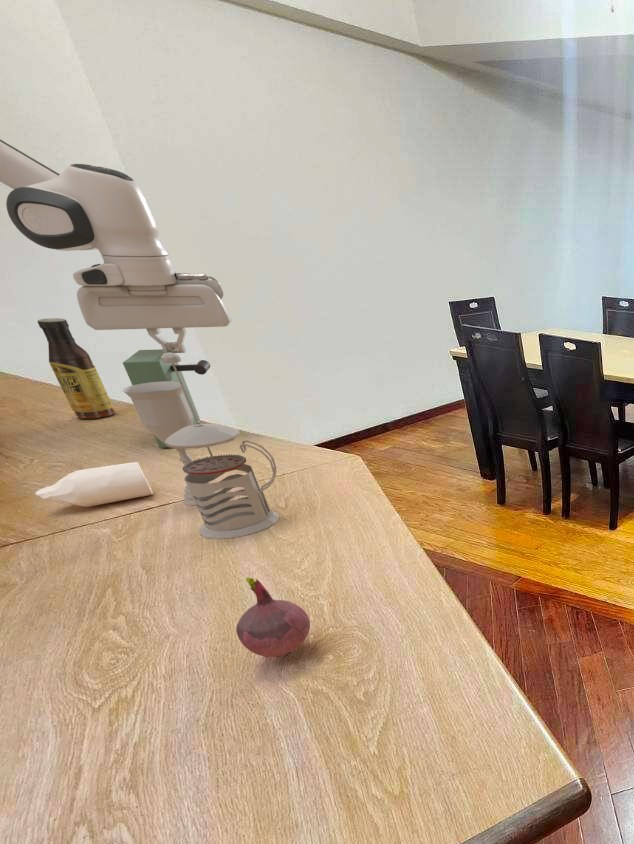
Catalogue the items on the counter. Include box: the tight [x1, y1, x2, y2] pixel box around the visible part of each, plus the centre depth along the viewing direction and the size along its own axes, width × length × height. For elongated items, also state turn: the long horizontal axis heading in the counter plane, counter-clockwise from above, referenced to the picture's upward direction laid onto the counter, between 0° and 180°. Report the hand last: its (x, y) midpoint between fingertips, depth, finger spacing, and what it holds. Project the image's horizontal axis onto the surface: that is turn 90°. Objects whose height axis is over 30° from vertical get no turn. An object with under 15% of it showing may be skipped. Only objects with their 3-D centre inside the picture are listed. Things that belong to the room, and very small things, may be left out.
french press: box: [161, 353, 280, 540], centre depth 83 cm, size 10×12×25 cm
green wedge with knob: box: [122, 348, 211, 449], centre depth 116 cm, size 16×12×10 cm
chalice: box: [122, 382, 220, 506], centre depth 91 cm, size 7×7×18 cm
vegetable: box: [235, 577, 311, 658], centre depth 61 cm, size 6×6×10 cm
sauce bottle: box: [37, 317, 115, 420], centre depth 123 cm, size 7×6×20 cm
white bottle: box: [34, 461, 154, 508], centre depth 91 cm, size 6×12×6 cm, turn 136°
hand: (175, 352), depth 112 cm, fingers closed
